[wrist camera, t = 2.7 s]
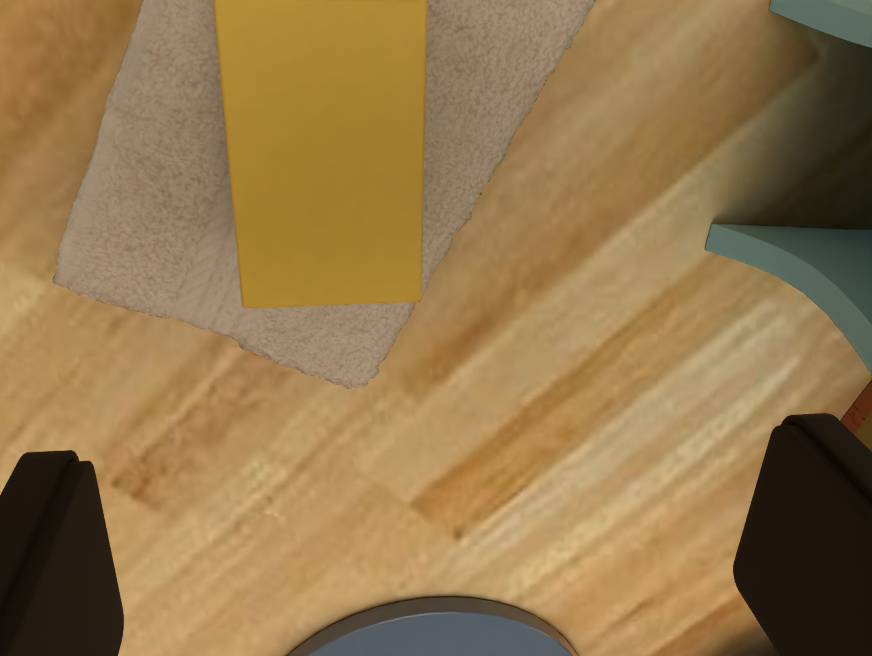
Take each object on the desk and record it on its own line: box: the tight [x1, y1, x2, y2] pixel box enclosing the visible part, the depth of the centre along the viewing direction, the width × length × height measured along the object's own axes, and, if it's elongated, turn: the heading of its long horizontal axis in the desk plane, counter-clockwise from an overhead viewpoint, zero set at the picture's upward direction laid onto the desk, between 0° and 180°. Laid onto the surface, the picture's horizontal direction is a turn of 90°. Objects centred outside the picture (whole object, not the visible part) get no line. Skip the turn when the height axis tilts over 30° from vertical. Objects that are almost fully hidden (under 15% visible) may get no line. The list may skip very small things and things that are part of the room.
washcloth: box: [53, 0, 596, 389], centre depth 25 cm, size 12×18×3 cm, turn 152°
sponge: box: [213, 0, 427, 308], centre depth 22 cm, size 5×8×4 cm, turn 178°
